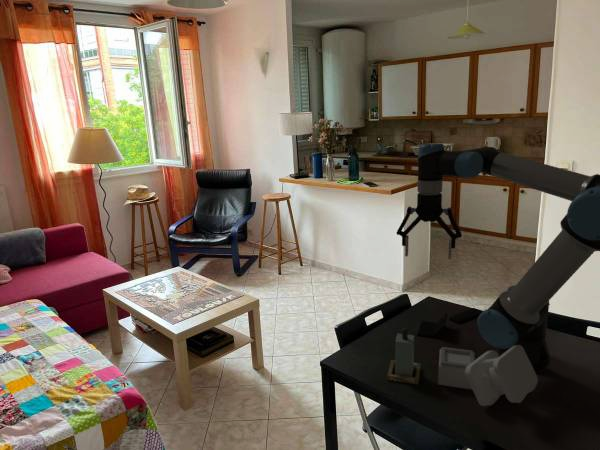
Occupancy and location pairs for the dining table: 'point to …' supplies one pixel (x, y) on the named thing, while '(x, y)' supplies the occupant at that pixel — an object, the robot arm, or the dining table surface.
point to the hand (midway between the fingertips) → (427, 256)
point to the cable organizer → (501, 376)
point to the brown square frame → (403, 378)
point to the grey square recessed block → (454, 367)
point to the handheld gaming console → (431, 327)
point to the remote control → (465, 316)
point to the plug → (404, 354)
